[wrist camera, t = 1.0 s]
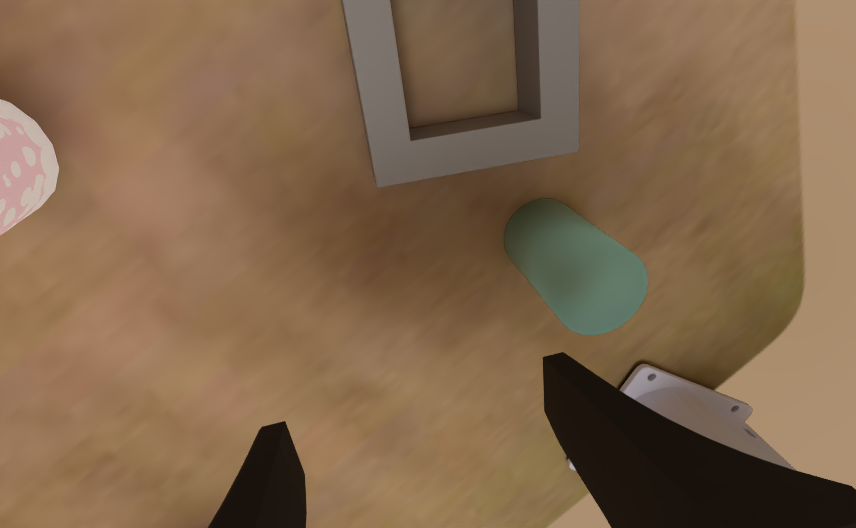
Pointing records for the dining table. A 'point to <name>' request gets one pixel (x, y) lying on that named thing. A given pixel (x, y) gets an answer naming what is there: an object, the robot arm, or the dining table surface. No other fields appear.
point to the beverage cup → (23, 166)
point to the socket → (477, 137)
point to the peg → (575, 267)
